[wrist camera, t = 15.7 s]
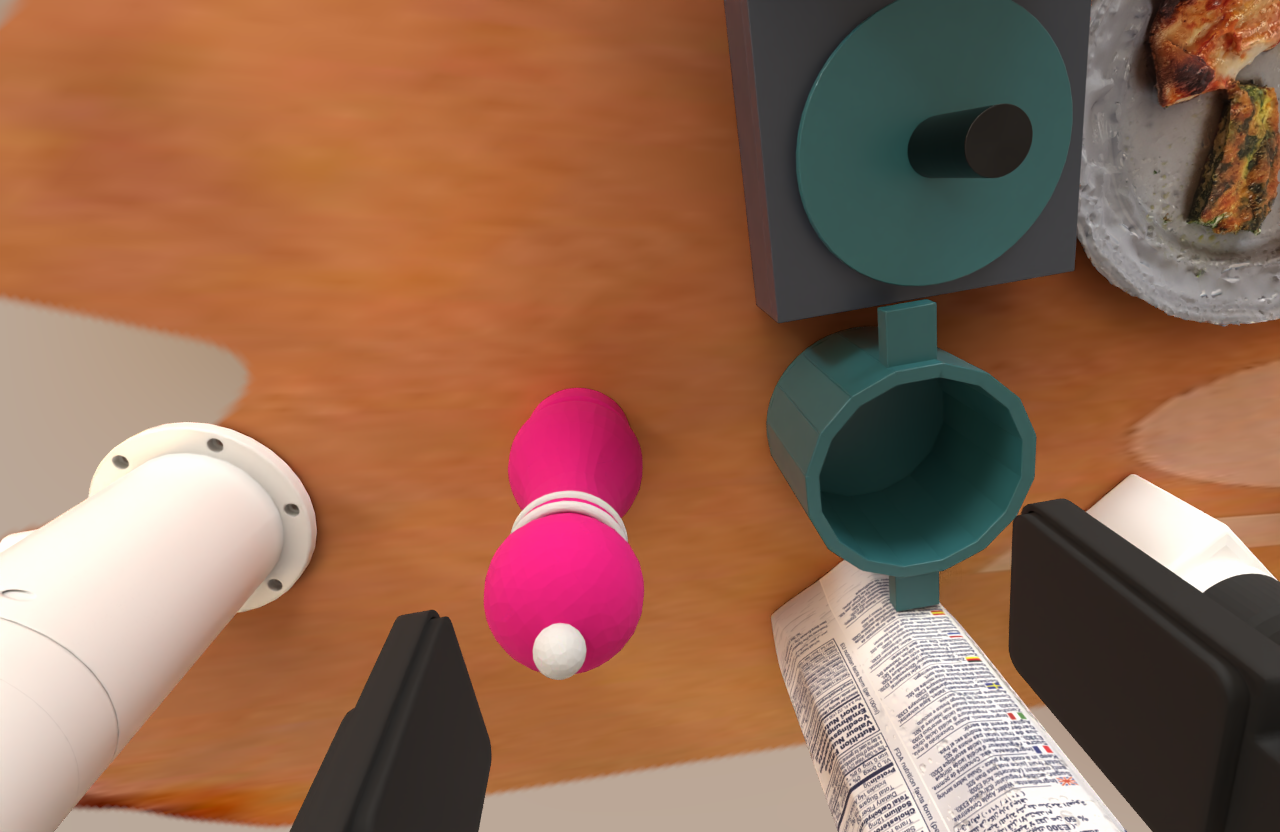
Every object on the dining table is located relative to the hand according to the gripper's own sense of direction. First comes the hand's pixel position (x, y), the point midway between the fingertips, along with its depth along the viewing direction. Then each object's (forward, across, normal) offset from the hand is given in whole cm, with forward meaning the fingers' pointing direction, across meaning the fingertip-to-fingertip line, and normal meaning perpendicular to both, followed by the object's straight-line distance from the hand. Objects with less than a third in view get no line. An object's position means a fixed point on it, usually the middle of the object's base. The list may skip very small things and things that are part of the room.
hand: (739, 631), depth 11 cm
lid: (+23, -14, -6) cm, 27 cm away
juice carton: (+28, -10, +23) cm, 38 cm away
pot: (+28, -12, +9) cm, 32 cm away
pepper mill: (+28, +5, +7) cm, 30 cm away
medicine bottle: (+28, -29, +21) cm, 46 cm away
